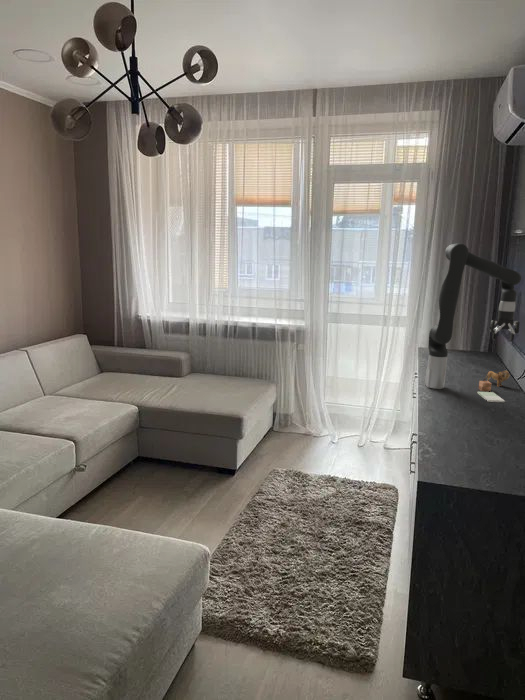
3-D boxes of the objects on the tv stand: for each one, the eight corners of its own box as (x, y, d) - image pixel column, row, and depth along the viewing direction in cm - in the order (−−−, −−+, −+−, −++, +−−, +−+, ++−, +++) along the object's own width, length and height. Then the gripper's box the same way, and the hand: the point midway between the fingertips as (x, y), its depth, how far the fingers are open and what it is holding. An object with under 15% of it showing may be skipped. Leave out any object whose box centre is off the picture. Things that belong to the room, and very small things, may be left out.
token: (481, 391, 263) (482, 383, 262) (478, 388, 268) (479, 380, 267) (490, 391, 263) (491, 383, 262) (487, 389, 268) (488, 381, 267)
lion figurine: (509, 387, 272) (512, 371, 270) (504, 388, 269) (506, 372, 267) (485, 380, 284) (487, 365, 282) (479, 381, 281) (481, 366, 279)
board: (487, 401, 246) (488, 400, 246) (477, 393, 260) (477, 391, 260) (504, 402, 246) (504, 400, 246) (492, 393, 259) (493, 392, 259)
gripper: (495, 310, 257) (491, 341, 260) (524, 311, 256) (519, 342, 260) (489, 308, 264) (486, 338, 268) (517, 309, 264) (513, 339, 267)
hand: (502, 340), depth 264 cm, fingers open, 8 cm apart
